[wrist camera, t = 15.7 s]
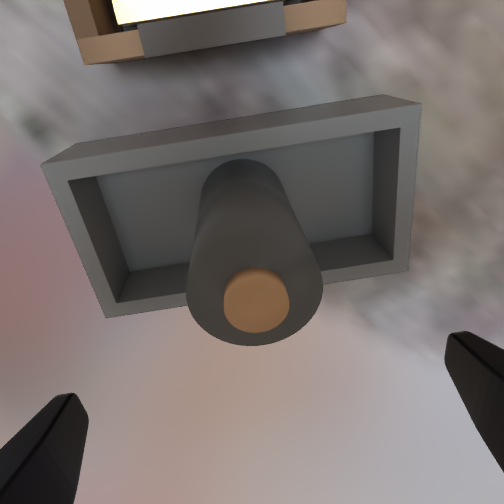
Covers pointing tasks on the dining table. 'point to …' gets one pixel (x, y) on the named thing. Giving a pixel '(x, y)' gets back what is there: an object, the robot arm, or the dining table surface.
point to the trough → (230, 148)
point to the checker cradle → (192, 28)
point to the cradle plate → (172, 9)
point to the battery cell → (250, 259)
